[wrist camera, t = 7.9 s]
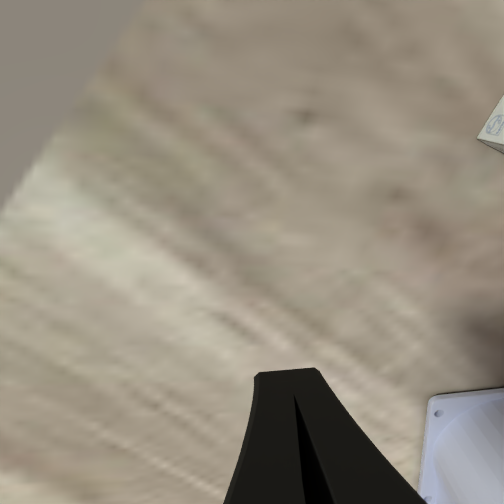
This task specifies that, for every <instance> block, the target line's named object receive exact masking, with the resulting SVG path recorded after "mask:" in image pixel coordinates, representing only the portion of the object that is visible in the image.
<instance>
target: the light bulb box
mask: <svg viewBox="0 0 504 504" xmlns="http://www.w3.org/2000/svg"><path fill="white" fill-rule="evenodd" d="M477 139H478V140H480V141H482V142H483V143H485V144H487V145H489V146H491V147H493V148H495V149H497V150H499V151H501V152H503V153H504V95H503V97H502V98H501V100H500V101H499V103H498V105H497V106H496V108H495V109H494V111H493V113H492V114H491V116H490V117H489V119H488V121H487V122H486V124H485V125H484V127H483V129H482V130H481V132H480V134H479V135H478V137H477Z"/></svg>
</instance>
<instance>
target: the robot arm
mask: <svg viewBox="0 0 504 504" xmlns="http://www.w3.org/2000/svg"><path fill="white" fill-rule="evenodd" d="M223 504H504V388H500V389H491V390H481V391H472V392H462V393H453V394H444V395H436V396H433V397H432V398H431V399H430V400H429V402H428V408H427V416H426V425H425V434H424V442H423V451H422V460H421V468H420V477H419V486H418V493H417V492H416V491H415V490H414V489H413V488H412V487H411V486H410V484H409V483H408V482H407V481H406V480H405V479H404V478H403V477H402V476H401V475H400V474H399V472H398V471H397V470H396V469H395V468H394V467H393V466H392V465H391V464H390V463H389V461H388V460H387V459H386V458H385V457H384V456H383V454H382V453H381V452H380V451H379V450H378V449H377V447H376V446H375V445H374V444H373V443H372V441H371V440H370V439H369V438H368V437H367V435H366V434H365V433H364V432H363V431H362V429H361V428H360V427H359V426H358V424H357V423H356V422H355V421H354V419H353V418H352V417H351V416H350V414H349V413H348V412H347V410H346V409H345V408H344V406H343V405H342V404H341V402H340V401H339V399H338V398H337V397H336V395H335V394H334V392H333V391H332V390H331V388H330V387H329V385H328V384H327V382H326V381H325V379H324V378H323V376H322V375H321V373H320V371H318V370H317V369H316V368H303V369H292V370H280V371H269V372H259V373H258V374H257V375H256V376H255V377H254V393H253V401H252V407H251V412H250V417H249V421H248V426H247V429H246V433H245V437H244V441H243V444H242V448H241V452H240V455H239V459H238V462H237V465H236V468H235V471H234V474H233V477H232V480H231V483H230V485H229V488H228V491H227V494H226V497H225V500H224V503H223Z"/></svg>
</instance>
